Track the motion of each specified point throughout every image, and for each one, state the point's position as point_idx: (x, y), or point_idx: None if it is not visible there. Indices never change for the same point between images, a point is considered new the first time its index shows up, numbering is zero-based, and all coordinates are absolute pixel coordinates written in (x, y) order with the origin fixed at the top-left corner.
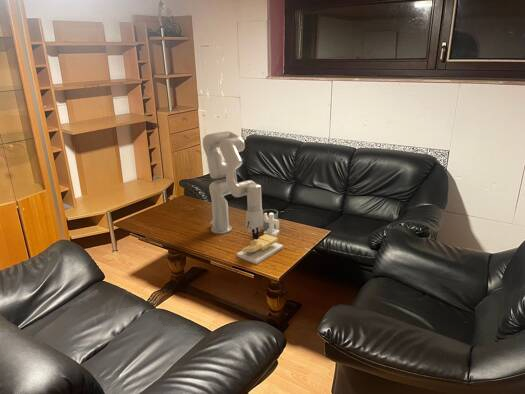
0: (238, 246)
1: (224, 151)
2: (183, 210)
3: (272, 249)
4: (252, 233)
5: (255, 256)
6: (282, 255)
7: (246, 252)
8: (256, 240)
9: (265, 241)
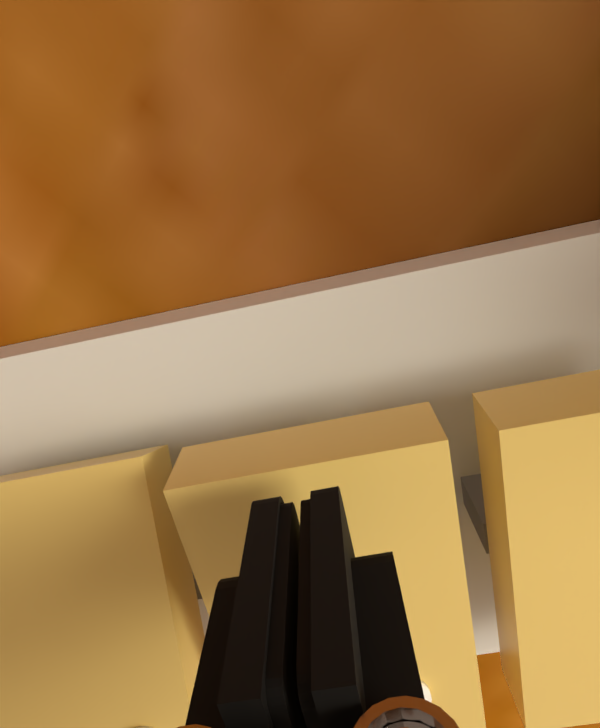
0: (125, 32)
1: None
2: None
3: (473, 618)
4: (229, 633)
5: None
6: (484, 700)
7: (70, 457)
8: None
9: (451, 662)
